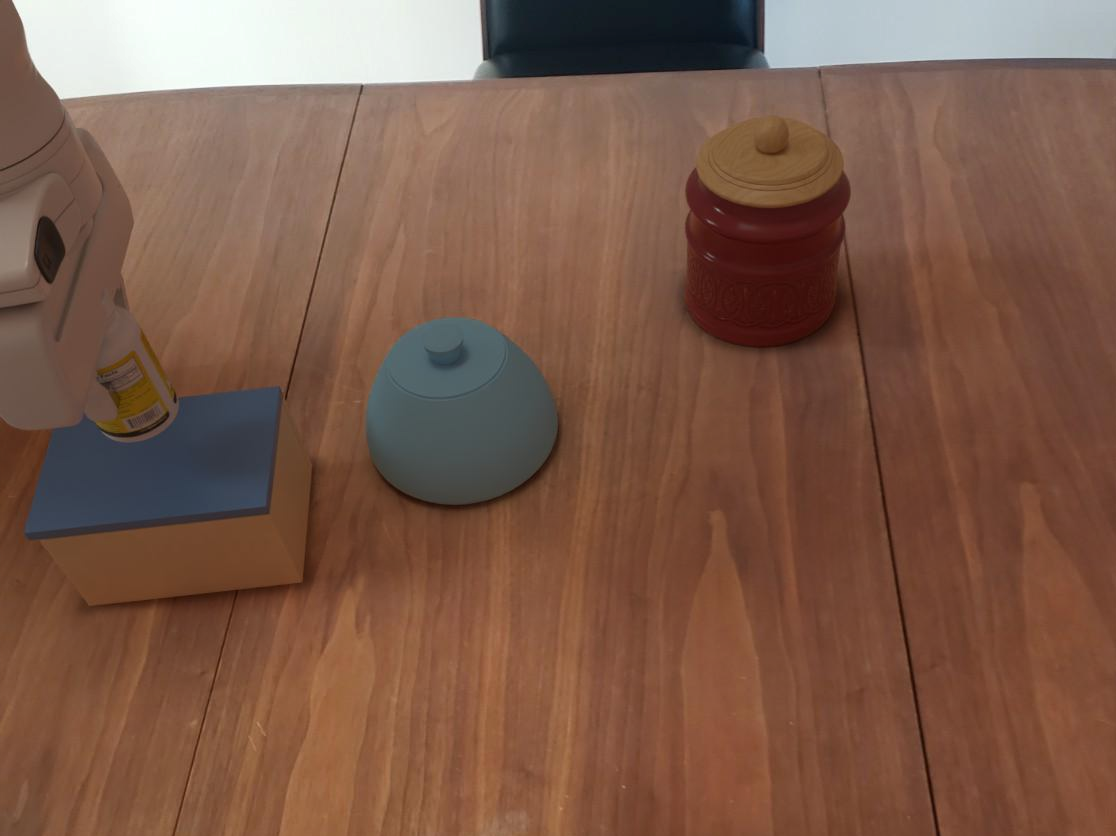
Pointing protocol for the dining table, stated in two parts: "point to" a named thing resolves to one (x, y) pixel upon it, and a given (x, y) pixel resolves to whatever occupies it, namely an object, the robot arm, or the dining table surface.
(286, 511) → the chest
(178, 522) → the chest lid
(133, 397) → the supplement bottle
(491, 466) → the sugar bowl
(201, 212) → the dining table surface
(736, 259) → the kitchen canister
